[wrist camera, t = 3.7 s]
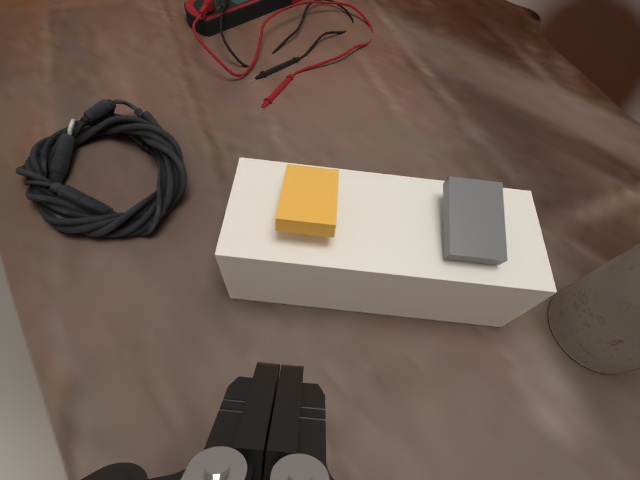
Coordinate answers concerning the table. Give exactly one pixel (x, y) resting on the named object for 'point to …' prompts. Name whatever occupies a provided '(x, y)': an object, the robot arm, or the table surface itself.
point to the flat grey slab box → (474, 221)
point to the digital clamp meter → (242, 6)
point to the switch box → (378, 252)
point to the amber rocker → (308, 201)
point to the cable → (84, 211)
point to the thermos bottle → (601, 316)
